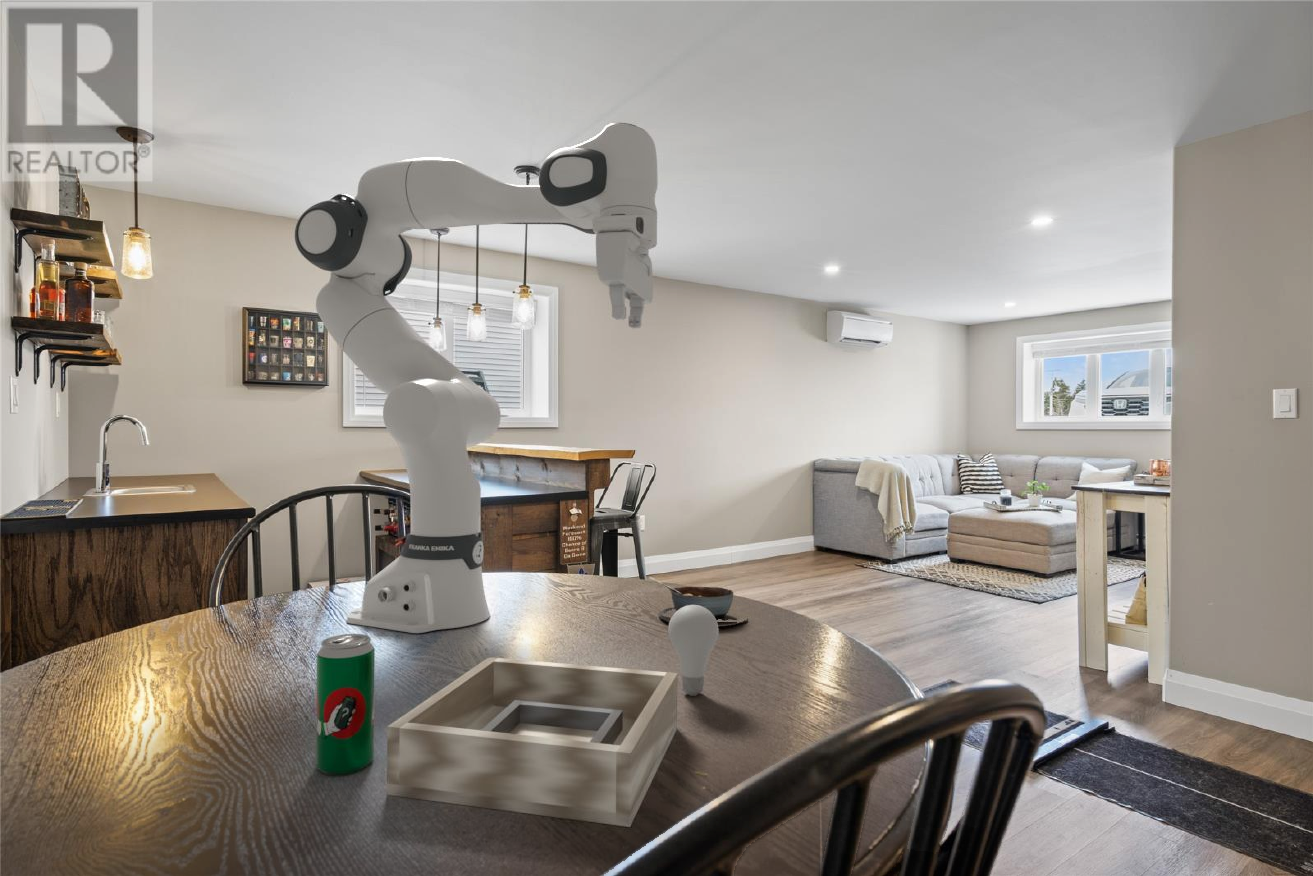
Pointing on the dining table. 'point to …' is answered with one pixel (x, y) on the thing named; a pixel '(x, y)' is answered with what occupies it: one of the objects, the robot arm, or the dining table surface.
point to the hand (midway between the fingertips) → (627, 323)
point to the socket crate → (537, 740)
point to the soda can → (345, 704)
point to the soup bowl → (702, 601)
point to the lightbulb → (693, 644)
